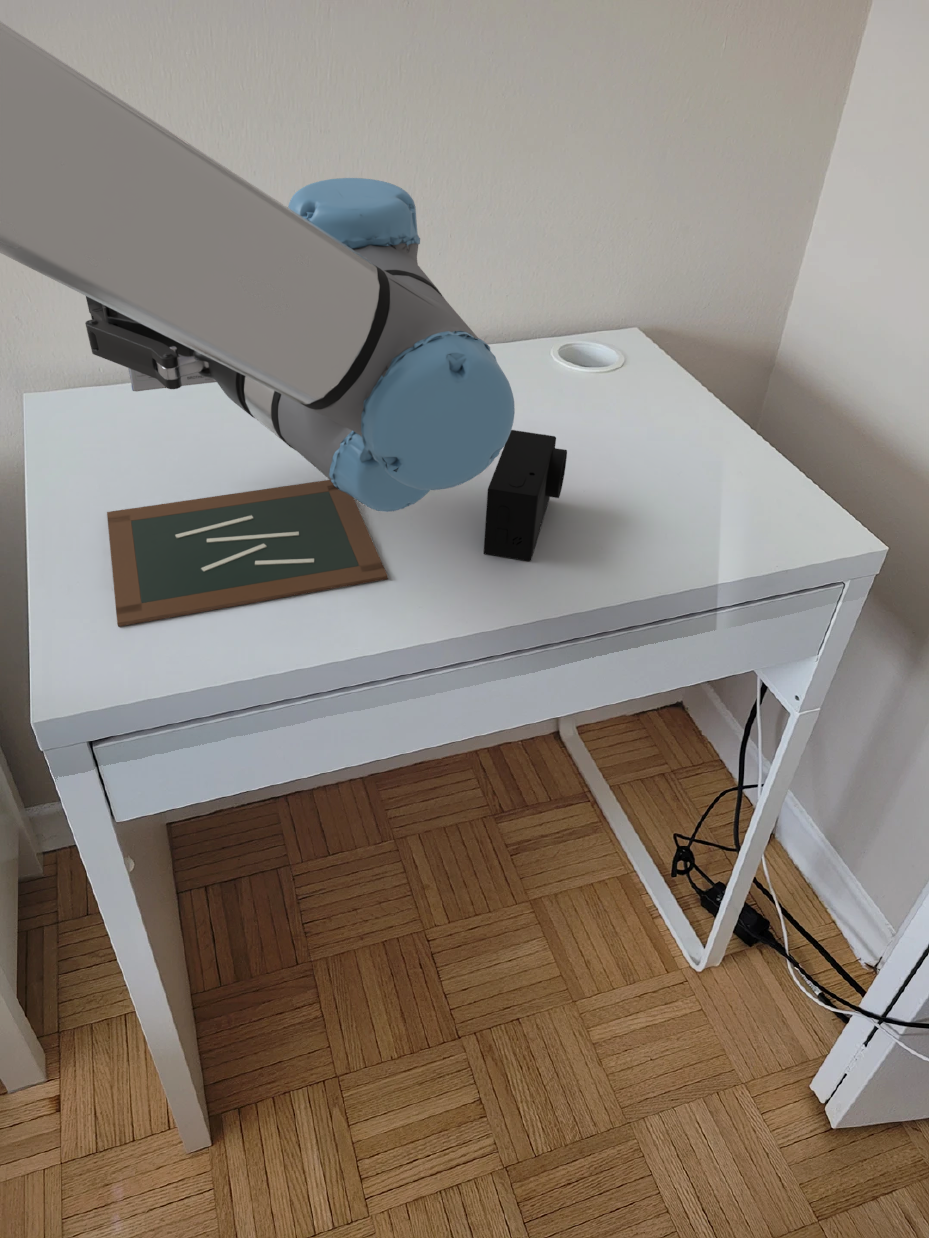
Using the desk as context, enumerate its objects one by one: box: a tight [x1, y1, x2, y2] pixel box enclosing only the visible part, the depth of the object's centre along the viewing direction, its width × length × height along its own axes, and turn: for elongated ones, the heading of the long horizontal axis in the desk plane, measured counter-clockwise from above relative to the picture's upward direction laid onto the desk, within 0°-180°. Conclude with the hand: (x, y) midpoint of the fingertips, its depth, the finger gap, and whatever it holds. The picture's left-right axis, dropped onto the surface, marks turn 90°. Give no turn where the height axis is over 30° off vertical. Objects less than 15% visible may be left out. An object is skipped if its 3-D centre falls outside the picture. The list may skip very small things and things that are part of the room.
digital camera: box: [483, 429, 568, 562], centre depth 85 cm, size 10×5×7 cm, turn 167°
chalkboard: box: [106, 479, 389, 628], centre depth 83 cm, size 22×16×1 cm
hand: (153, 281), depth 82 cm, fingers closed on ink cartridge box, 11 cm apart
